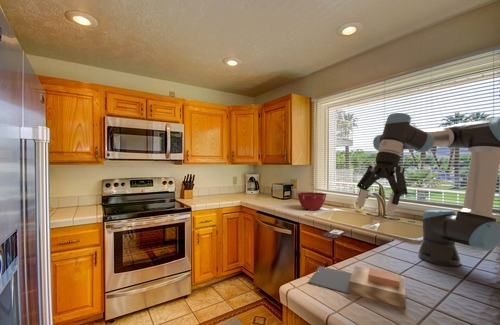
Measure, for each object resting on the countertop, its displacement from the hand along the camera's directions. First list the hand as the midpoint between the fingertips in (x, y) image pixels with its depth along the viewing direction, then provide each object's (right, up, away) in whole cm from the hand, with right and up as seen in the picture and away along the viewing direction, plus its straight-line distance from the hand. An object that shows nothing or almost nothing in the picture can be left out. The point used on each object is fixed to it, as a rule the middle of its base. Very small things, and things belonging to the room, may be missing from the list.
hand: (373, 209), depth 84 cm
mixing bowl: (+17, -30, +148) cm, 152 cm away
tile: (+2, -24, -3) cm, 24 cm away
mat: (-13, -28, +5) cm, 31 cm away
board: (0, -28, -2) cm, 28 cm away
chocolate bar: (+9, -29, +64) cm, 71 cm away
